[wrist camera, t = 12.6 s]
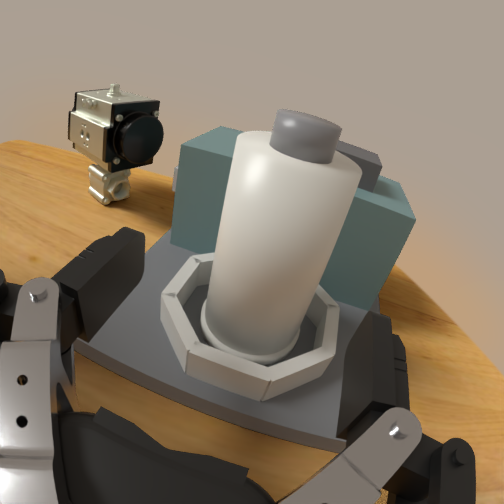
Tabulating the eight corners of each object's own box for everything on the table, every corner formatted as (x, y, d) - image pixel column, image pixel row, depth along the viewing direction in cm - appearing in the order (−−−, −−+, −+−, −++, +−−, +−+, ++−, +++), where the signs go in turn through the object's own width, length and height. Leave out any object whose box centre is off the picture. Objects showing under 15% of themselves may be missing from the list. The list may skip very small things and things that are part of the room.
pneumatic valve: (101, 173, 36) (108, 77, 30) (157, 212, 31) (171, 91, 25) (62, 184, 32) (63, 81, 25) (110, 229, 27) (116, 94, 21)
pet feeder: (66, 345, 17) (31, 159, 10) (190, 214, 32) (208, 100, 26) (366, 458, 15) (510, 317, 8) (369, 274, 30) (418, 166, 24)
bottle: (183, 343, 17) (217, 107, 11) (219, 282, 22) (259, 97, 15) (285, 380, 17) (385, 158, 10) (302, 311, 22) (372, 131, 15)
